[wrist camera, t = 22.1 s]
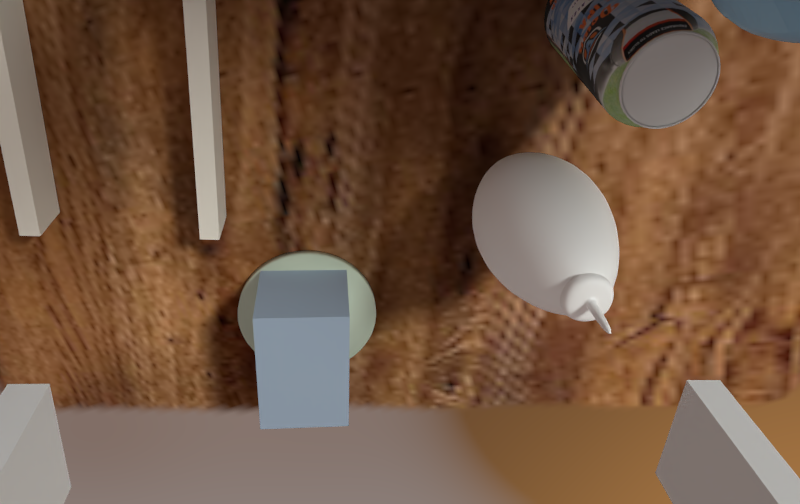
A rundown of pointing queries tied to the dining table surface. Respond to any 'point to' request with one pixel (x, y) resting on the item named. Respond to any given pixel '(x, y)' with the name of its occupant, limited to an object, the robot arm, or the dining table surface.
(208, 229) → the channel
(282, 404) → the painted block
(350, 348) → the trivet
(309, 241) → the dining table surface
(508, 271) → the sauce bottle
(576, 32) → the beverage can
